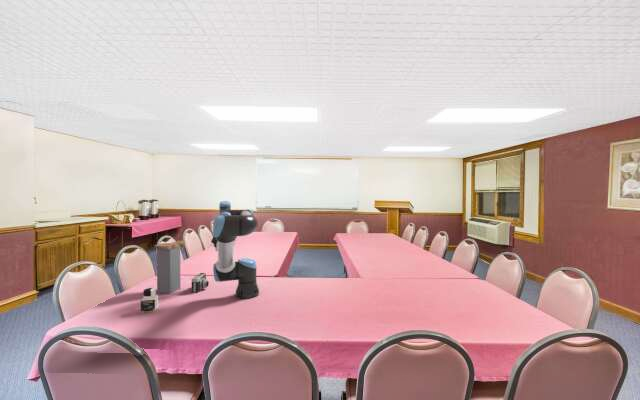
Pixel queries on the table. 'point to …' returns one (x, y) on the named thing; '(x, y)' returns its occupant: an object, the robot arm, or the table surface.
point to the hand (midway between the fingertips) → (224, 247)
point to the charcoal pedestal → (168, 270)
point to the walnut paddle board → (168, 245)
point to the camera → (199, 282)
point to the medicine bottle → (149, 300)
